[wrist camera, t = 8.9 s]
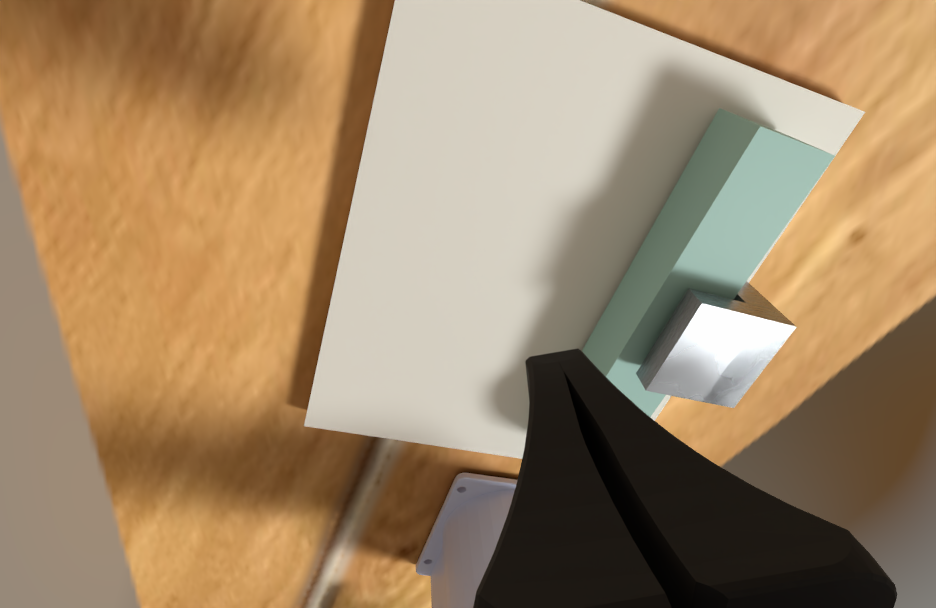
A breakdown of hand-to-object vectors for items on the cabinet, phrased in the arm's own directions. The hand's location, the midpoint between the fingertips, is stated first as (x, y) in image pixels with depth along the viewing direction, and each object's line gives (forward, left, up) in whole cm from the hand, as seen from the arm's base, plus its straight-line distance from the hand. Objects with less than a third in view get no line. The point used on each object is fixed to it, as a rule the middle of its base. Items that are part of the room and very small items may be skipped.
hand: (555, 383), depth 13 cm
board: (-2, -3, -10) cm, 10 cm away
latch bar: (-2, -7, -8) cm, 11 cm away
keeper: (-1, -8, -10) cm, 12 cm away
